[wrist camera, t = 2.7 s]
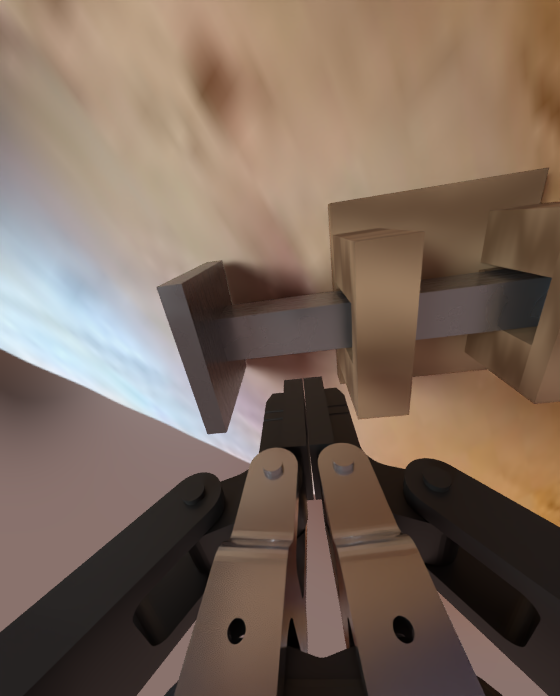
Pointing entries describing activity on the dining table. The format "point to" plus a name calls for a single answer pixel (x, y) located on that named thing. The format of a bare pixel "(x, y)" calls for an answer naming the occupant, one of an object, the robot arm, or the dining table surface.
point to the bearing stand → (440, 261)
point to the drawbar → (320, 323)
